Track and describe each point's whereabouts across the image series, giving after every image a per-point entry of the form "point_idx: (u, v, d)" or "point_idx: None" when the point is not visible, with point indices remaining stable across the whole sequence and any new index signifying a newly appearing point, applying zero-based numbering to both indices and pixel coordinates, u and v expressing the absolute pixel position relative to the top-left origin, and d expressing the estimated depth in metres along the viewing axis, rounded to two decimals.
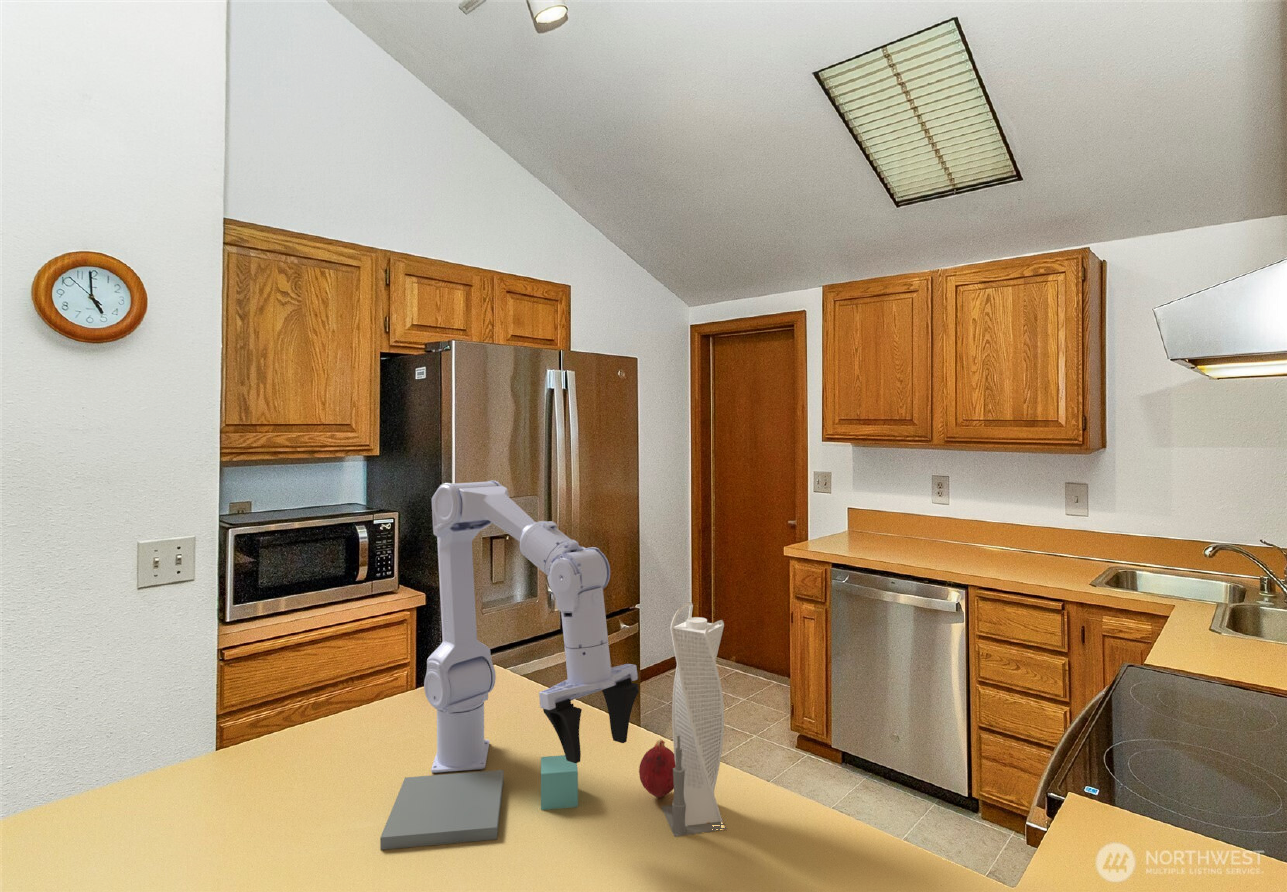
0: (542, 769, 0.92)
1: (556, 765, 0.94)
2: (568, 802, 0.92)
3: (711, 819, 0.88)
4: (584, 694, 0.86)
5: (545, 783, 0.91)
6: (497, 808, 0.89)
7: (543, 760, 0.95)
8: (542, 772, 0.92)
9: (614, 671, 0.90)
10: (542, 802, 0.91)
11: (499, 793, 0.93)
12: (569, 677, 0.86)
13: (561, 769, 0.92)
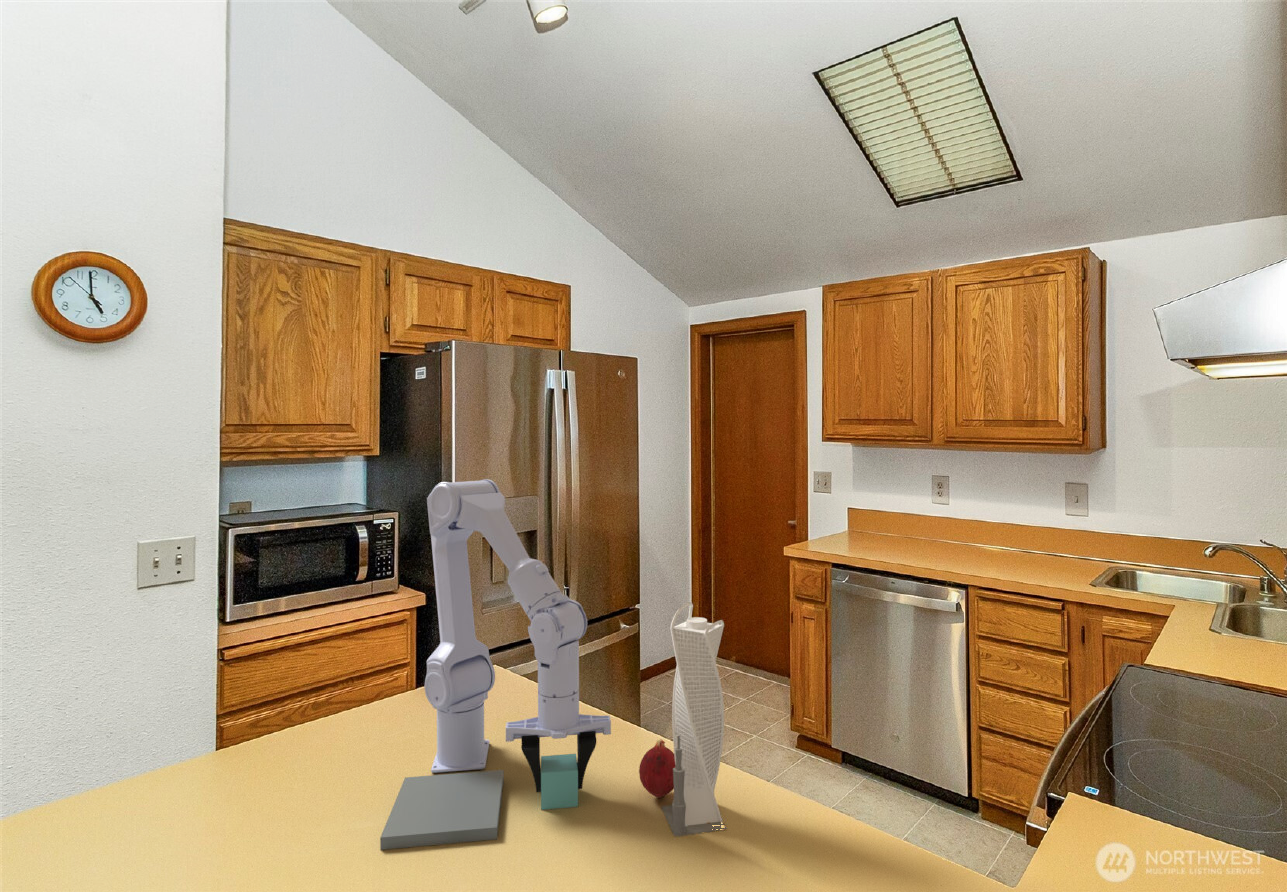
0: (542, 768, 0.92)
1: (556, 764, 0.94)
2: (568, 801, 0.92)
3: (711, 819, 0.88)
4: None
5: (546, 782, 0.91)
6: (497, 808, 0.89)
7: (543, 759, 0.95)
8: (542, 771, 0.92)
9: (587, 721, 0.94)
10: (542, 801, 0.91)
11: (499, 793, 0.93)
12: None
13: (561, 768, 0.92)
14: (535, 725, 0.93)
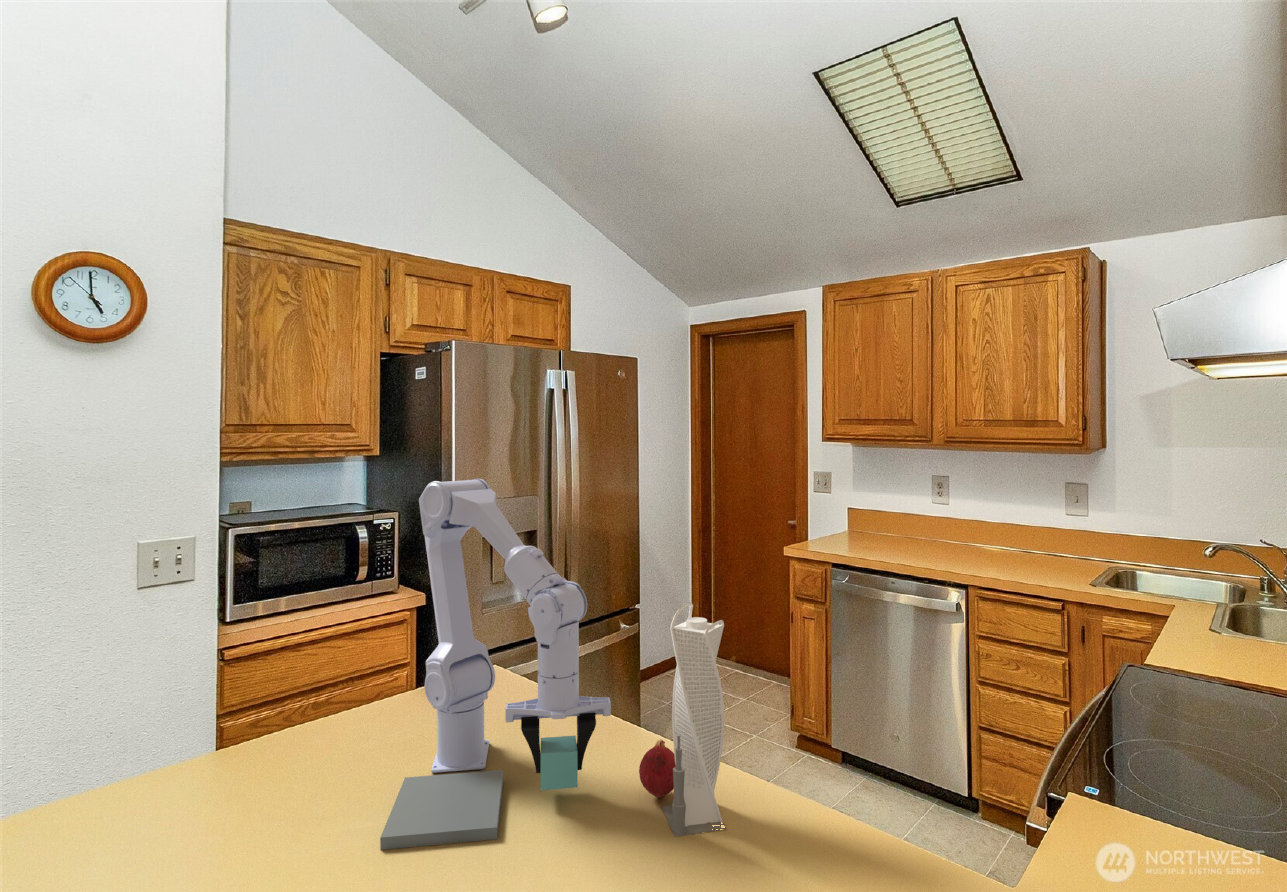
0: (542, 749, 0.92)
1: (556, 745, 0.94)
2: (568, 782, 0.92)
3: (711, 819, 0.88)
4: (548, 716, 0.93)
5: (545, 763, 0.91)
6: (497, 808, 0.89)
7: (543, 741, 0.95)
8: (542, 752, 0.92)
9: (587, 702, 0.94)
10: (542, 782, 0.91)
11: (499, 793, 0.93)
12: None
13: (560, 749, 0.92)
14: (535, 706, 0.93)
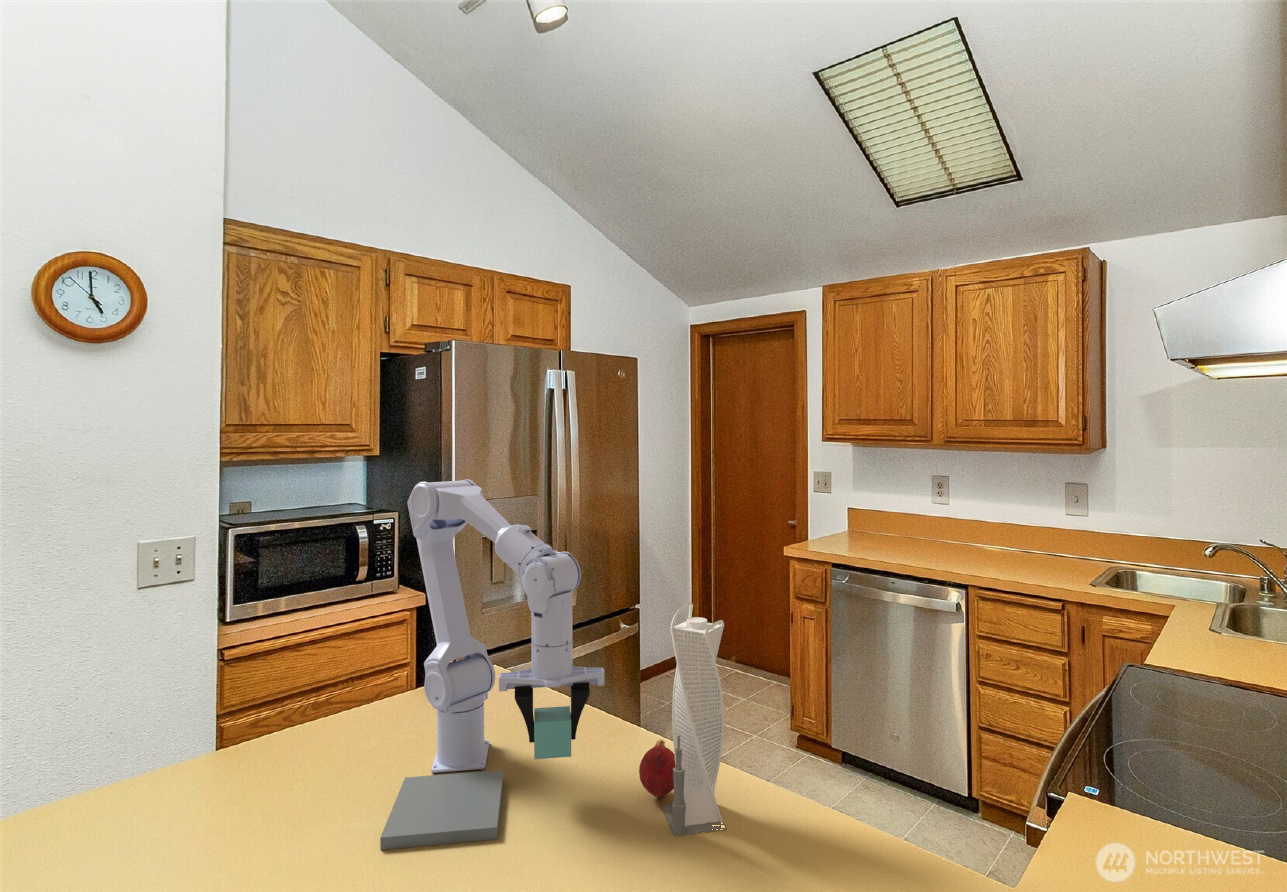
0: (535, 718, 0.92)
1: (550, 715, 0.93)
2: (561, 751, 0.92)
3: (711, 819, 0.88)
4: (542, 686, 0.93)
5: (539, 732, 0.91)
6: (497, 808, 0.89)
7: (536, 711, 0.95)
8: (535, 721, 0.91)
9: (580, 672, 0.94)
10: (535, 751, 0.91)
11: (499, 793, 0.93)
12: None
13: (554, 718, 0.92)
14: (528, 676, 0.93)
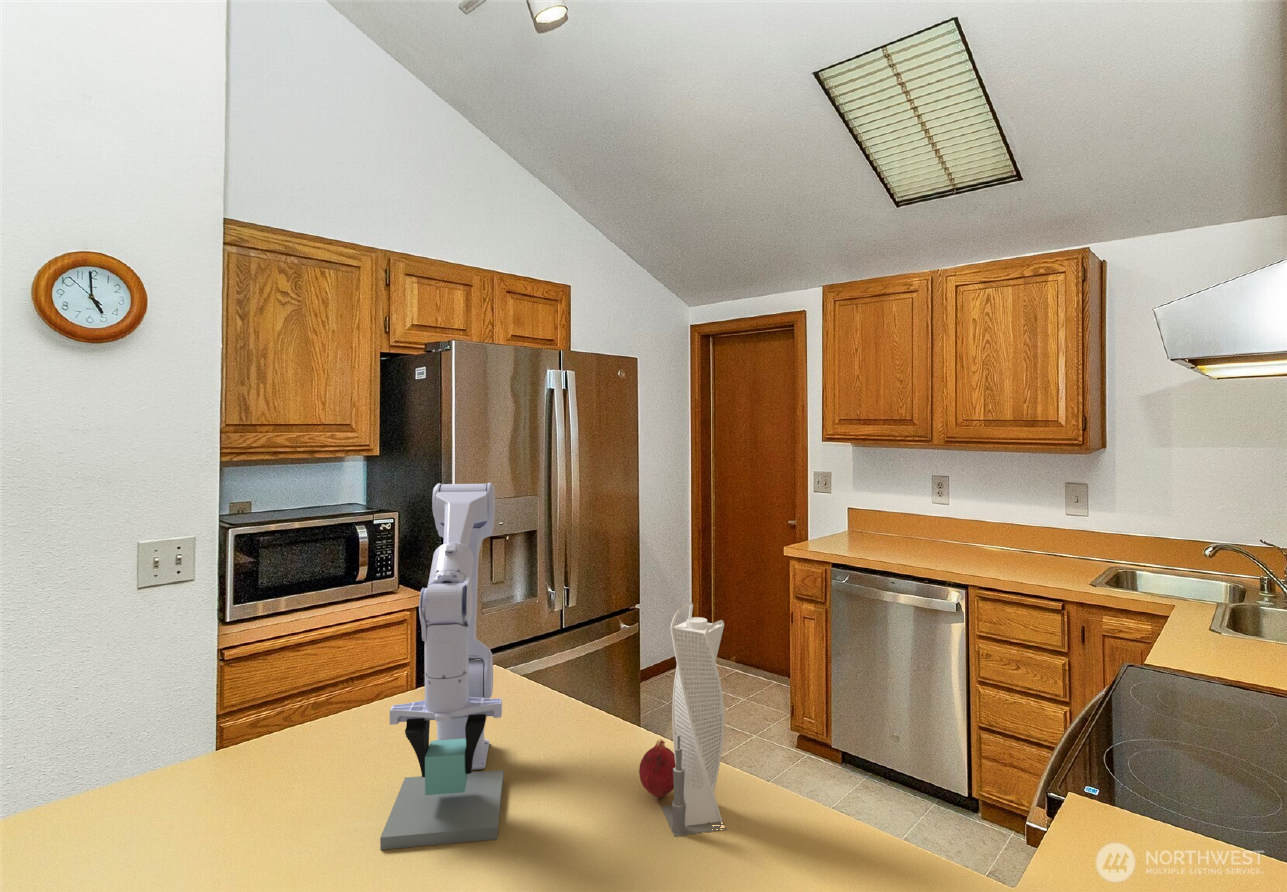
0: (428, 753, 0.89)
1: (444, 748, 0.90)
2: (454, 787, 0.88)
3: (711, 819, 0.88)
4: None
5: (430, 767, 0.88)
6: (497, 808, 0.89)
7: (432, 744, 0.92)
8: (427, 755, 0.88)
9: (477, 703, 0.91)
10: (426, 787, 0.88)
11: (499, 793, 0.93)
12: None
13: (447, 753, 0.89)
14: (422, 708, 0.90)
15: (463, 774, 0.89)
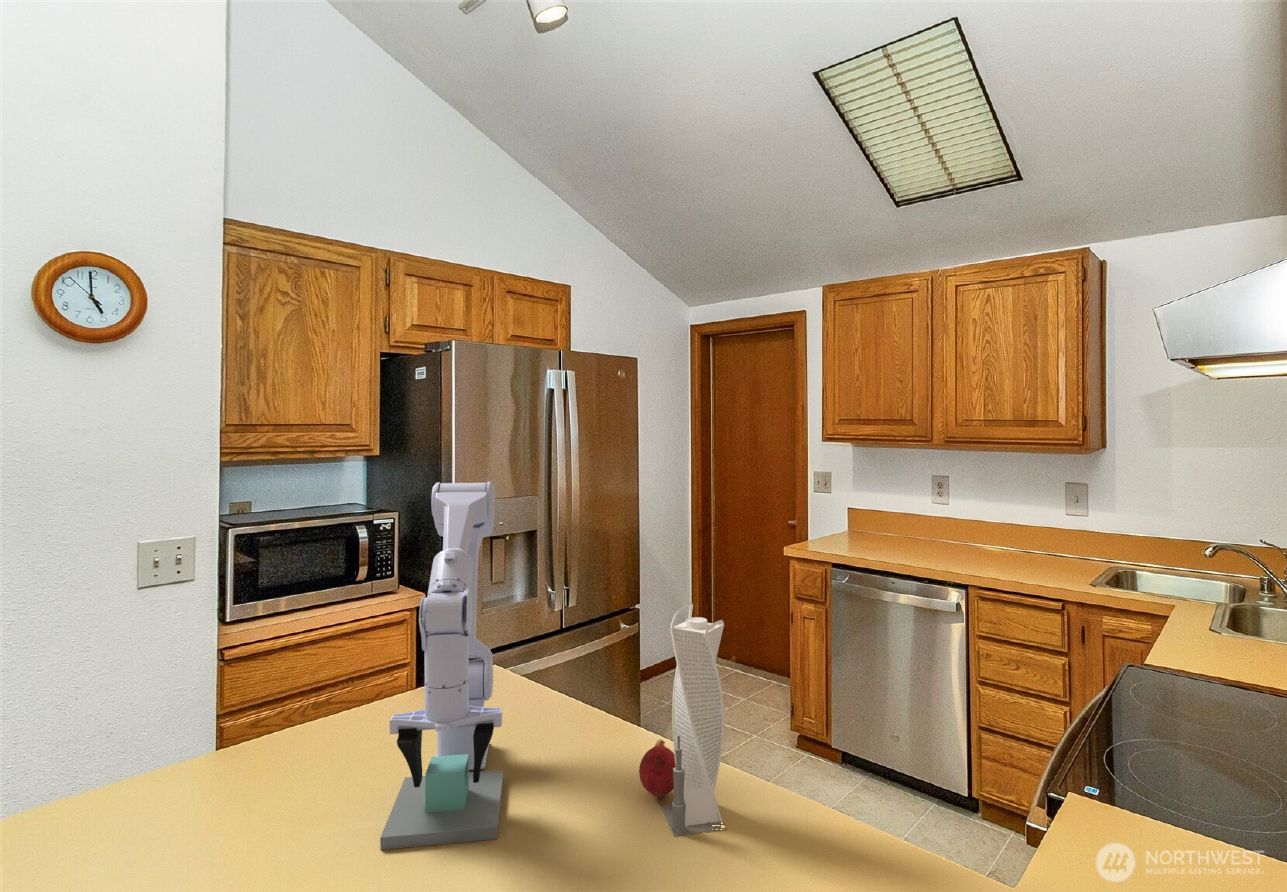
0: (428, 769, 0.89)
1: (444, 765, 0.90)
2: (454, 804, 0.88)
3: (711, 819, 0.88)
4: None
5: (430, 784, 0.88)
6: (497, 808, 0.89)
7: (432, 760, 0.92)
8: (427, 772, 0.88)
9: (477, 713, 0.91)
10: (426, 804, 0.88)
11: (499, 793, 0.93)
12: None
13: (448, 769, 0.89)
14: (422, 717, 0.90)
15: (463, 791, 0.89)
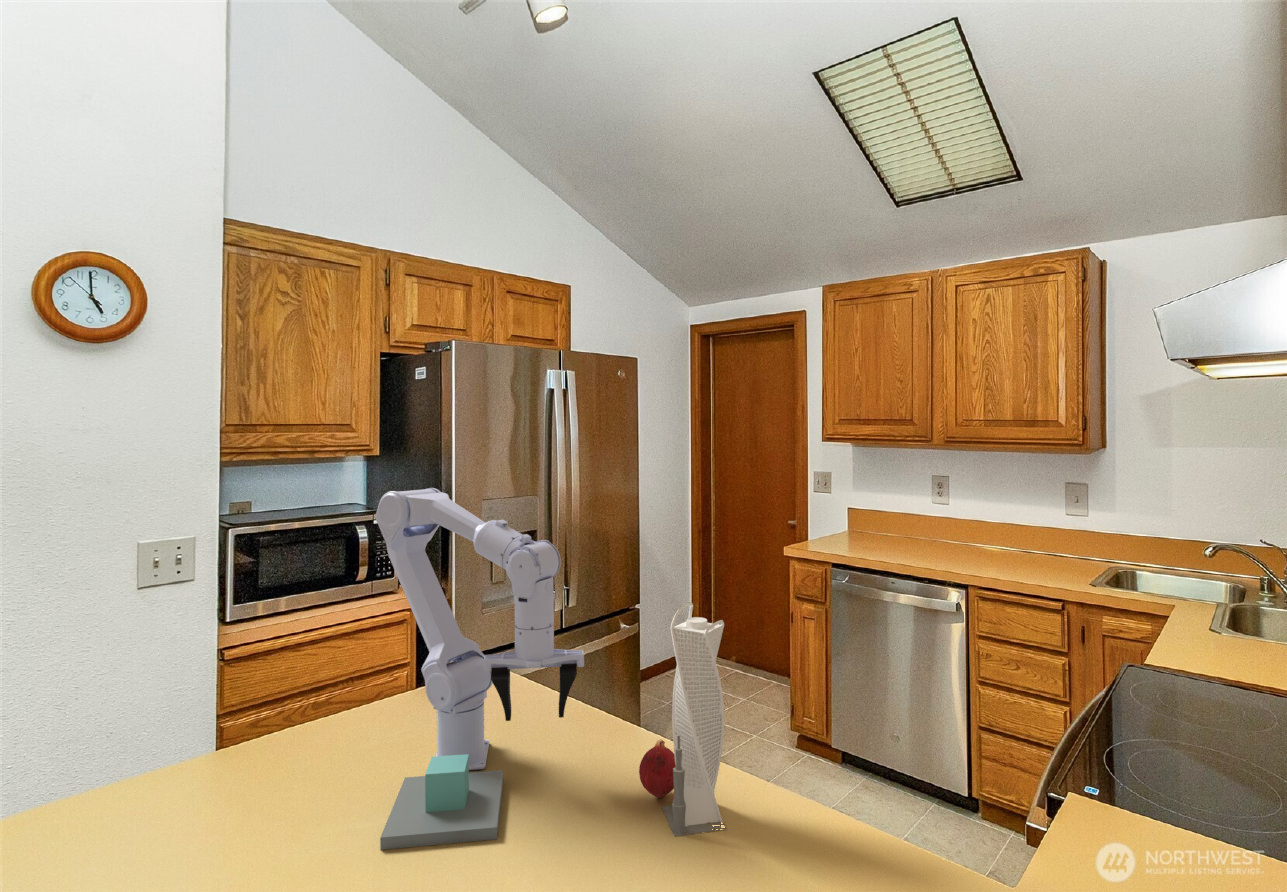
0: (428, 769, 0.89)
1: (444, 765, 0.90)
2: (454, 804, 0.88)
3: (711, 819, 0.88)
4: (525, 667, 0.99)
5: (430, 784, 0.88)
6: (497, 808, 0.89)
7: (432, 760, 0.92)
8: (427, 772, 0.88)
9: (561, 654, 1.00)
10: (426, 804, 0.88)
11: (499, 793, 0.93)
12: None
13: (448, 769, 0.89)
14: (512, 657, 0.98)
15: (463, 791, 0.89)
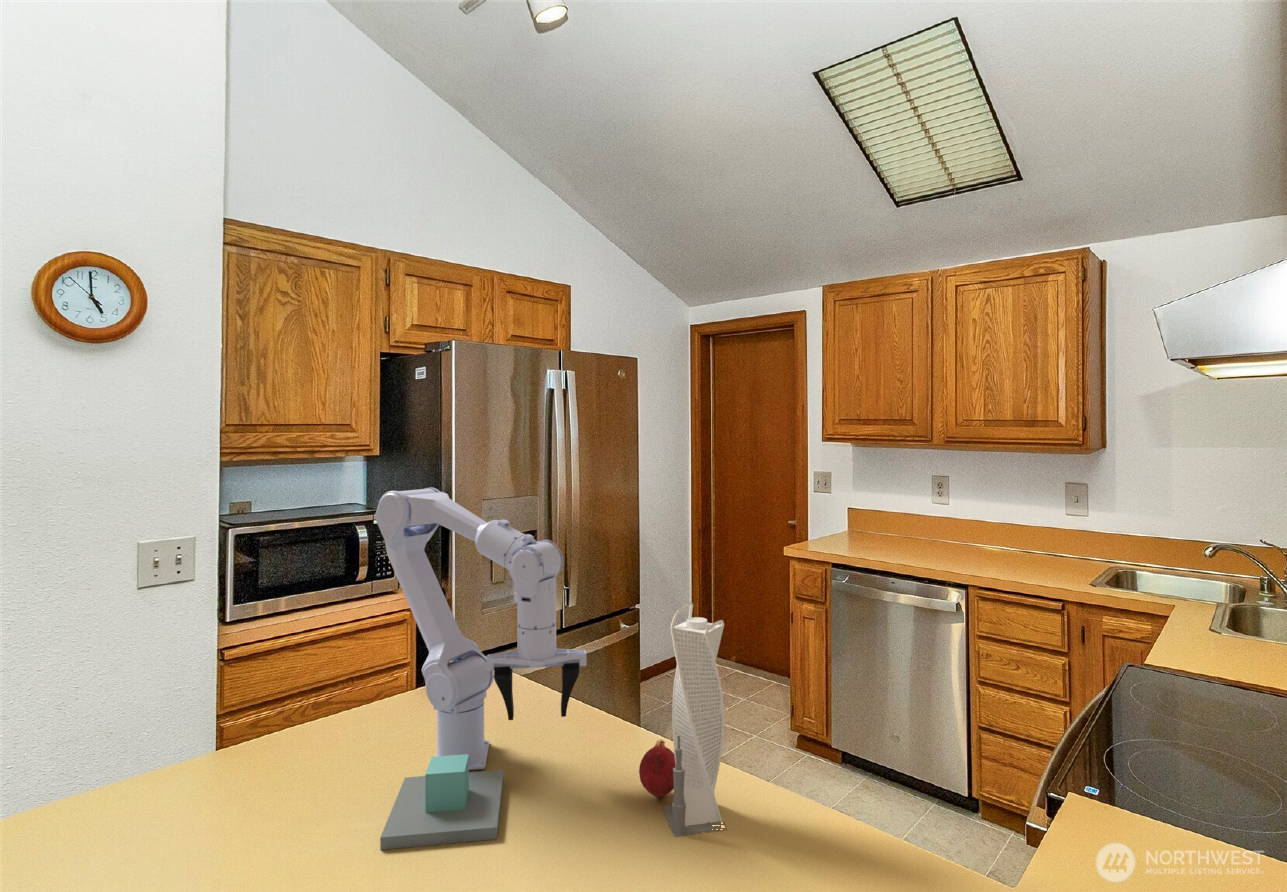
0: (428, 769, 0.89)
1: (444, 765, 0.90)
2: (454, 804, 0.88)
3: (711, 819, 0.88)
4: (527, 666, 0.99)
5: (430, 784, 0.88)
6: (497, 808, 0.89)
7: (432, 760, 0.92)
8: (427, 772, 0.88)
9: (564, 653, 1.00)
10: (426, 804, 0.88)
11: (499, 793, 0.93)
12: None
13: (448, 769, 0.89)
14: (514, 657, 0.99)
15: (463, 791, 0.89)
